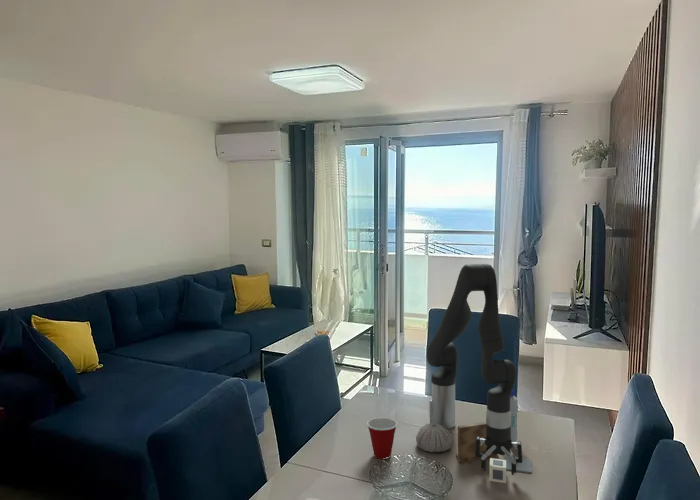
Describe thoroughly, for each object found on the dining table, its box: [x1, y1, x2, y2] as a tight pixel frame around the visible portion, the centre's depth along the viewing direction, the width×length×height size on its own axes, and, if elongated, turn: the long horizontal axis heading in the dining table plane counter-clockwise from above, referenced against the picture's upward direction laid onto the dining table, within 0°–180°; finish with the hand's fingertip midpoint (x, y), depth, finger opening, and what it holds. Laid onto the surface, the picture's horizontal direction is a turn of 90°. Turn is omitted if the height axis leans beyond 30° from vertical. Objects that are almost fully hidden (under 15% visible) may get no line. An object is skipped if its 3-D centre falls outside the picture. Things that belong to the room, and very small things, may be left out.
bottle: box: [510, 389, 519, 442], centre depth 175 cm, size 7×7×20 cm
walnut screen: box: [455, 421, 500, 465], centre depth 164 cm, size 14×5×12 cm, turn 104°
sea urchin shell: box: [415, 423, 454, 453], centre depth 173 cm, size 13×14×8 cm
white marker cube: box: [489, 457, 507, 484], centre depth 152 cm, size 5×5×5 cm
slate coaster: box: [505, 455, 533, 474], centre depth 159 cm, size 8×8×1 cm
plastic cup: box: [366, 417, 398, 460], centre depth 168 cm, size 11×11×12 cm
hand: (498, 471), depth 152 cm, fingers open, 8 cm apart
